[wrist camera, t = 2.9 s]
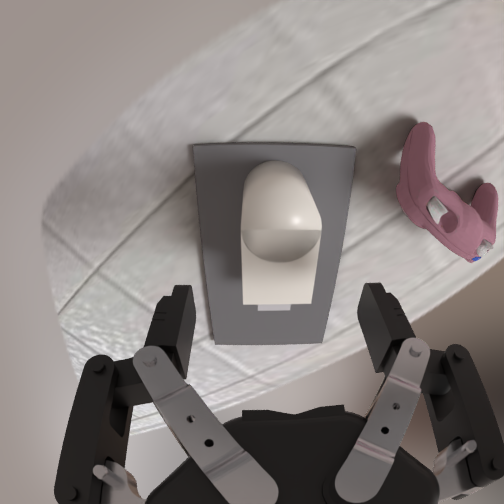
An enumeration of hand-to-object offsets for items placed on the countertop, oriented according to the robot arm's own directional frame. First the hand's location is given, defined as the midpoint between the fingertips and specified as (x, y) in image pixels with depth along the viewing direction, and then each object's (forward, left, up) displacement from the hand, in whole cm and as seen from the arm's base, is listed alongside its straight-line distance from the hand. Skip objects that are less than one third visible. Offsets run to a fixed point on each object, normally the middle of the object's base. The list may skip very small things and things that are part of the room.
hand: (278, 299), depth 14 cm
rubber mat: (+4, 0, -8) cm, 9 cm away
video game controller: (-3, +13, -9) cm, 15 cm away
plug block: (0, 0, -8) cm, 8 cm away
